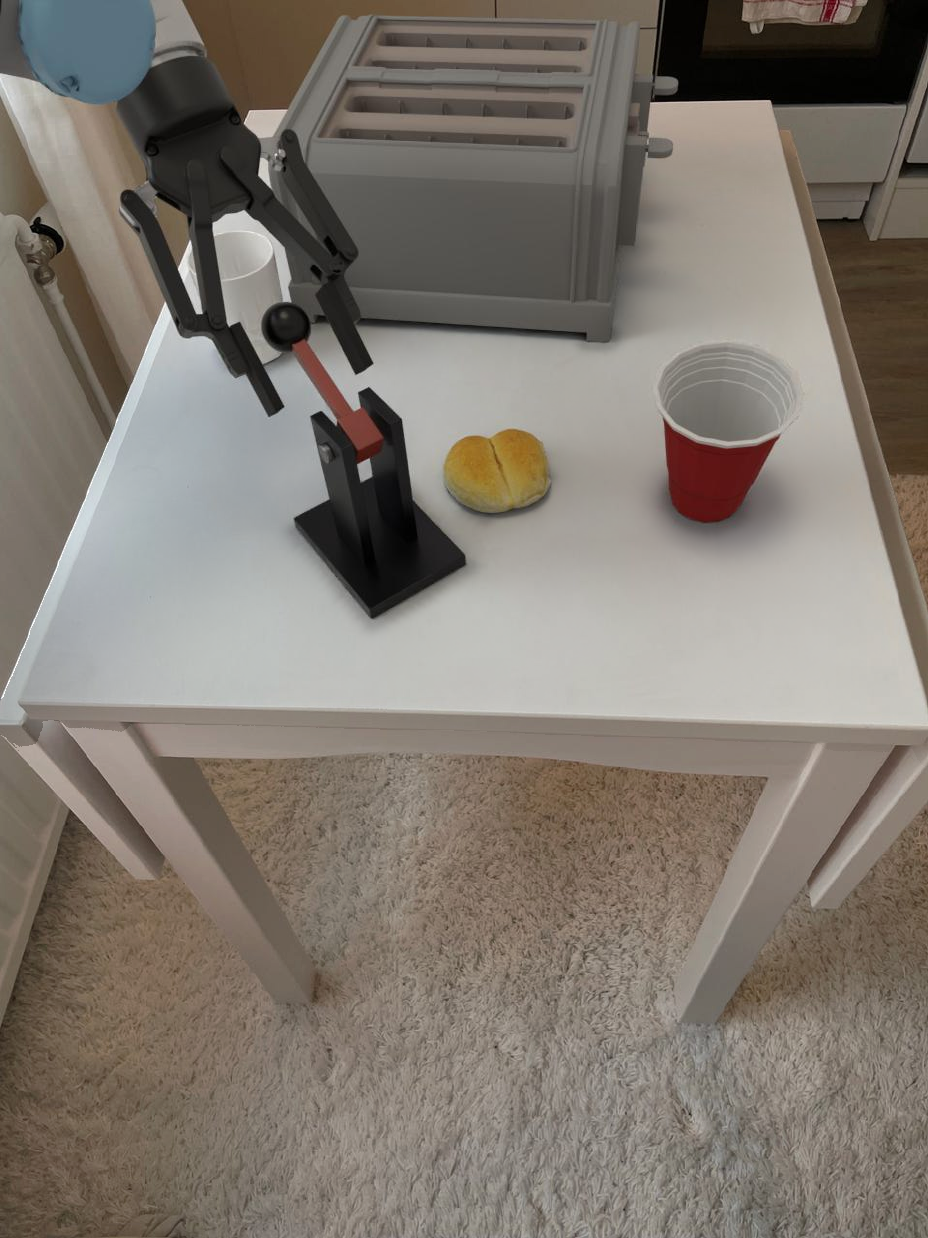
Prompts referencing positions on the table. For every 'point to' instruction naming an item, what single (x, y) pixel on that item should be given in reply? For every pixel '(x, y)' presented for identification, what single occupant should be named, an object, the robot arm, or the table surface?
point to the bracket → (374, 517)
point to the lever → (319, 375)
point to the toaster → (477, 166)
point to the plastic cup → (722, 421)
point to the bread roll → (497, 471)
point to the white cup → (246, 283)
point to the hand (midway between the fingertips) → (321, 389)
